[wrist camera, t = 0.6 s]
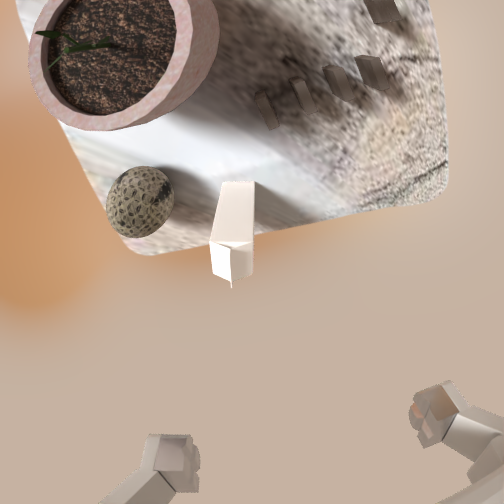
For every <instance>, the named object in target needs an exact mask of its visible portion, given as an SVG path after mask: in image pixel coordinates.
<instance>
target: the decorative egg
mask: <svg viewBox="0 0 504 504" xmlns="http://www.w3.org/2000/svg"><path fill="white" fill-rule="evenodd" d="M173 204H174V191H173V187H172V184H171V182H170V181H169V179H168V178H167V176H166V175H165V174H164V173H162V172H161V171H160V170H158V169H156V168H153V167H149V166H139V167H134V168H132V169H129V170H127V171H126V172H124V173H123V174H122V175H120V176H119V178H118V179H117V180H116V181H115V182H114V184H113V185H112V187H111V189H110V191H109V194H108V197H107V203H106V211H107V216H108V219H109V222H110V223H111V225H112V227H113V228H114V229H115V230H116V231H117V232H118V233H120V234H121V235H123V236H126V237H130V238H141V237H145V236H148V235H150V234H152V233H153V232H155V231H156V230H158V229H159V228H160V227H161V226H162V225H163V224H164V223H165V222H166V220H167V219H168V217H169V215H170V213H171V211H172V208H173Z"/></svg>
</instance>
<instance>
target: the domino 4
mask: <svg viewBox="0 0 504 504" xmlns="http://www.w3.org/2000/svg"><path fill="white" fill-rule="evenodd" d="M364 2H365V4H366V7H367V9H368V11H369V13H370V15H371V18H372V20H373V22H374V23H382V22H392V21H398V20H402V19H401V16H400V14H399V11H398V9H397V7H396V4H395V2H394V0H364Z"/></svg>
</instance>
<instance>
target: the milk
mask: <svg viewBox="0 0 504 504" xmlns="http://www.w3.org/2000/svg"><path fill="white" fill-rule="evenodd" d="M254 218H255V182H254V181H224V182H223V184H222V188H221V192H220V197H219V201H218V205H217V210H216V214H215V219H214V223H213V228H212V232H211V237H210V250H211V259H212V268H213V273H214V274H216V275H218V276H220V277H222V278H224V279H227V280H229V281H231V288H232V283H233V281H236V280H239V279H241V278H244V277H247V276H249V275H252V274H253V262H254Z"/></svg>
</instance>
